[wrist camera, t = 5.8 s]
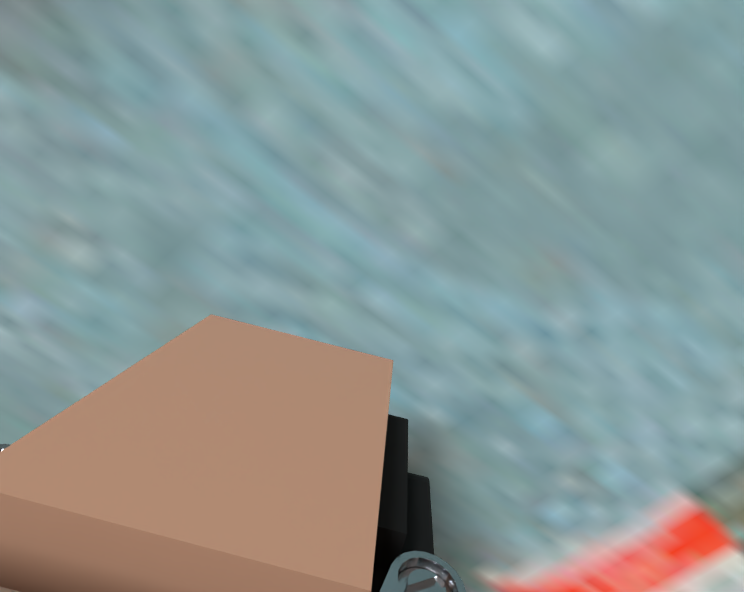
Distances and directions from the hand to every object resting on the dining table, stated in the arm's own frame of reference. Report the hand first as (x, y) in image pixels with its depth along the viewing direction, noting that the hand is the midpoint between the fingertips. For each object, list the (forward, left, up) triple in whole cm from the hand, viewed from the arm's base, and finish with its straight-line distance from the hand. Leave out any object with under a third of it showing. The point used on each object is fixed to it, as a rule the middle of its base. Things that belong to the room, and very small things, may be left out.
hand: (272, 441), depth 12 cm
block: (0, 0, -1) cm, 1 cm away
